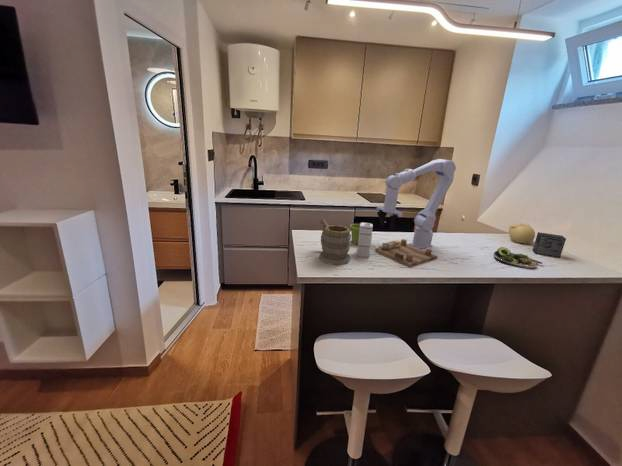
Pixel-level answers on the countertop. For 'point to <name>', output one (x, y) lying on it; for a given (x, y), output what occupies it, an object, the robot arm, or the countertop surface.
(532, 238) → the pale yellow rounded lump
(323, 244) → the tankard
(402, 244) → the brown wooden flat board
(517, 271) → the countertop surface
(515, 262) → the salad plate
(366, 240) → the syrup box
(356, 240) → the plant pot
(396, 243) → the long beige beam
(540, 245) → the small box
